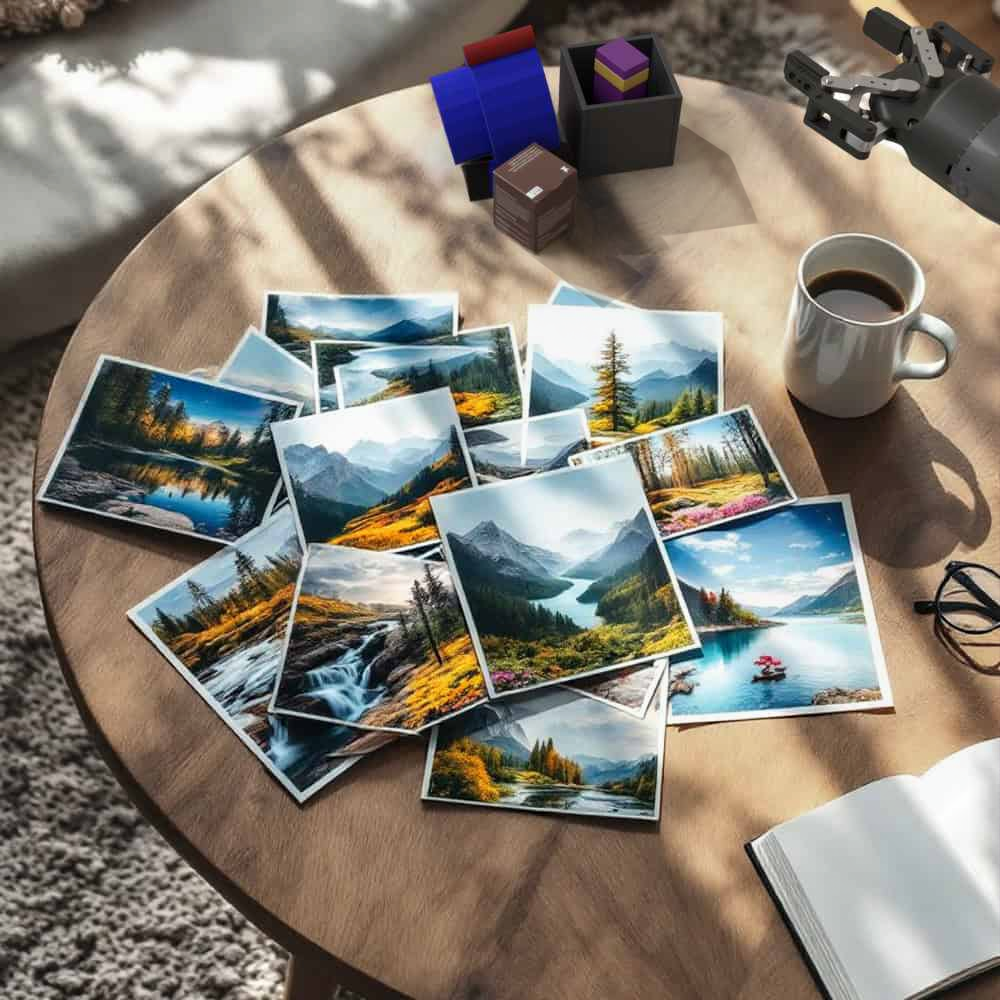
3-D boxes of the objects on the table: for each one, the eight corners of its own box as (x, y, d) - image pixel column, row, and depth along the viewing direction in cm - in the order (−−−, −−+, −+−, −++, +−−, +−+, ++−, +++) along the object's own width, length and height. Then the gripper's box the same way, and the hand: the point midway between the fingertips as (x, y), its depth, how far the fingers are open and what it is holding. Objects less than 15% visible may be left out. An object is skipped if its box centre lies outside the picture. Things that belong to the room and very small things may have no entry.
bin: (649, 102, 136) (657, 33, 129) (673, 165, 130) (683, 96, 123) (557, 114, 135) (560, 45, 128) (578, 178, 130) (582, 110, 122)
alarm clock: (565, 185, 129) (571, 63, 116) (449, 204, 127) (443, 83, 115) (537, 109, 135) (539, -14, 123) (426, 127, 134) (417, 4, 122)
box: (534, 196, 128) (535, 140, 122) (576, 225, 126) (579, 170, 120) (491, 226, 126) (490, 170, 120) (534, 256, 123) (535, 201, 117)
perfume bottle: (613, 116, 134) (620, 36, 125) (641, 138, 132) (650, 58, 123) (590, 129, 133) (595, 49, 124) (617, 151, 131) (624, 71, 122)
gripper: (1077, 69, 88) (905, -40, 95) (939, 154, 83) (769, 32, 90) (1039, 153, 94) (880, 45, 101) (909, 236, 89) (752, 116, 96)
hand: (828, 39), depth 95 cm, fingers open, 8 cm apart
